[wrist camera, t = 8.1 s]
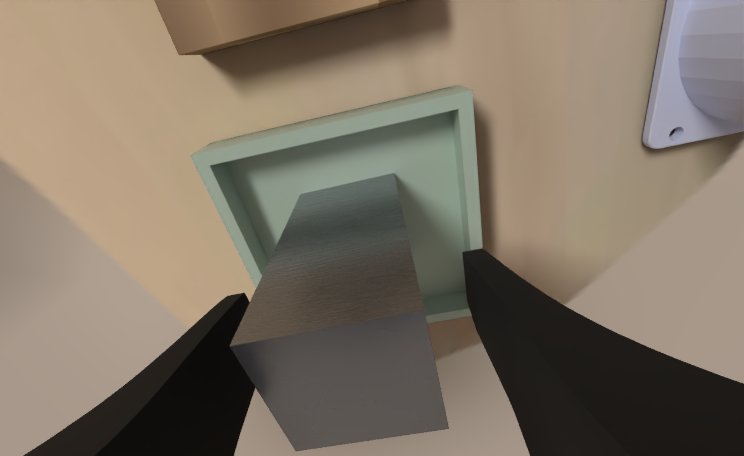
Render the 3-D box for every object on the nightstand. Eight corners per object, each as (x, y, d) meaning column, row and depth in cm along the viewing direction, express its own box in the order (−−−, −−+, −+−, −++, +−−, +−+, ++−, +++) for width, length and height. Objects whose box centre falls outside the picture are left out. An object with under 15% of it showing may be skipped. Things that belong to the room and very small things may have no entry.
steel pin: (393, 172, 13) (424, 310, 6) (410, 253, 15) (448, 428, 8) (300, 194, 14) (229, 346, 7) (327, 269, 15) (296, 450, 8)
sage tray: (459, 84, 12) (472, 89, 11) (475, 288, 17) (486, 313, 15) (211, 143, 13) (190, 155, 12) (292, 321, 18) (285, 347, 16)
